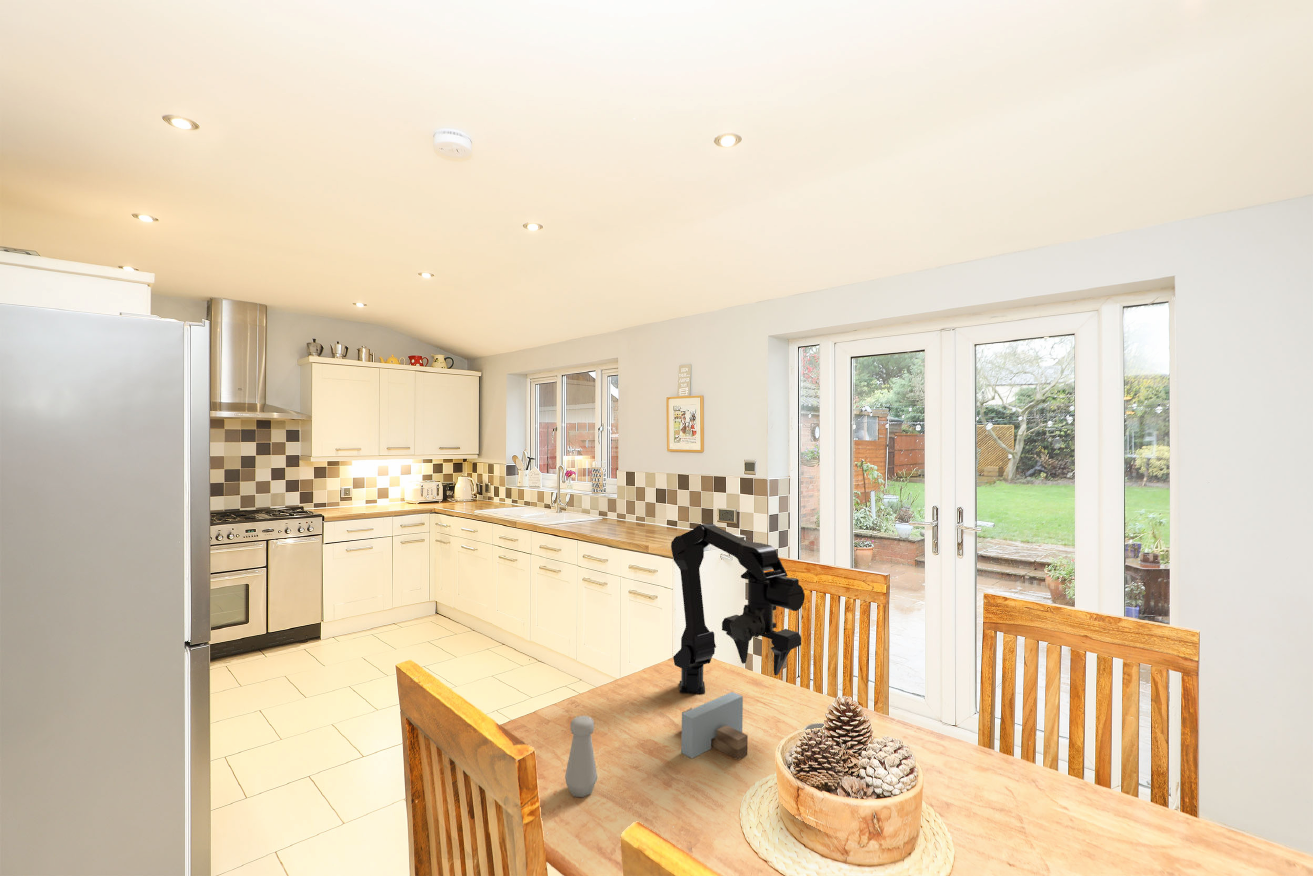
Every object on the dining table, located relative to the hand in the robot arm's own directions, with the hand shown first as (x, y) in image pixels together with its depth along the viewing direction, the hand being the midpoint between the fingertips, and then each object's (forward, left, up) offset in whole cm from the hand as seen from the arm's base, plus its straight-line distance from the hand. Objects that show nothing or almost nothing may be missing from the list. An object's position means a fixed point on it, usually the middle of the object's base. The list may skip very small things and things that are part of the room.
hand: (759, 669), depth 133 cm
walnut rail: (+10, -11, -12) cm, 19 cm away
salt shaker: (+29, -36, -12) cm, 48 cm away
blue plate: (+10, -11, -12) cm, 19 cm away
